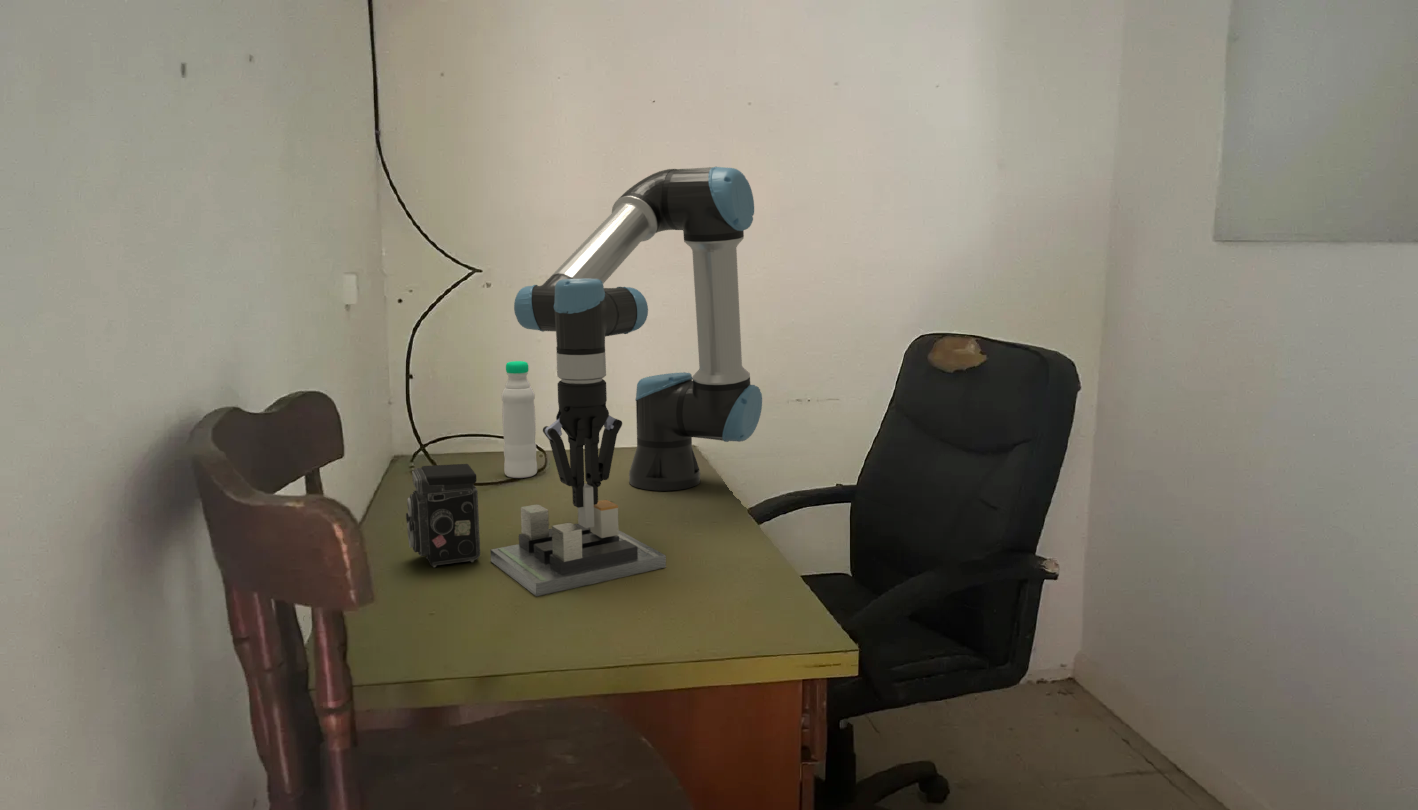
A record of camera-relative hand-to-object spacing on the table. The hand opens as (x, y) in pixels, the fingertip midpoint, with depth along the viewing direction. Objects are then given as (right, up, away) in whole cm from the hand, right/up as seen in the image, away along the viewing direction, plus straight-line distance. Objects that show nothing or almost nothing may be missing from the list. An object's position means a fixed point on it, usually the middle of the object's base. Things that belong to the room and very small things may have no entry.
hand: (586, 525), depth 150 cm
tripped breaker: (+3, -2, +2) cm, 4 cm away
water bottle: (-22, +4, +56) cm, 61 cm away
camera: (-23, -6, +2) cm, 24 cm away
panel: (-1, -6, 0) cm, 6 cm away
